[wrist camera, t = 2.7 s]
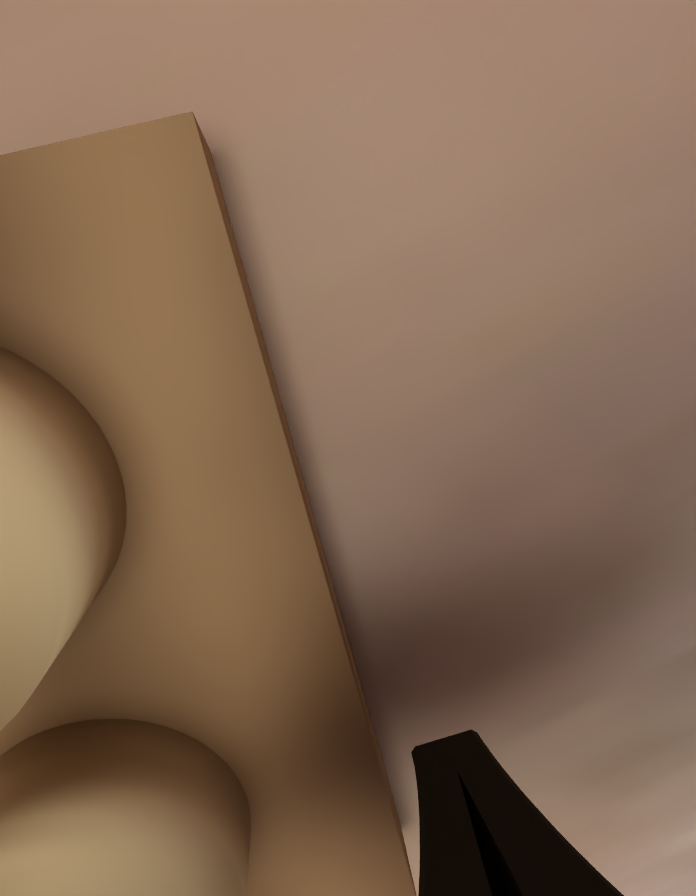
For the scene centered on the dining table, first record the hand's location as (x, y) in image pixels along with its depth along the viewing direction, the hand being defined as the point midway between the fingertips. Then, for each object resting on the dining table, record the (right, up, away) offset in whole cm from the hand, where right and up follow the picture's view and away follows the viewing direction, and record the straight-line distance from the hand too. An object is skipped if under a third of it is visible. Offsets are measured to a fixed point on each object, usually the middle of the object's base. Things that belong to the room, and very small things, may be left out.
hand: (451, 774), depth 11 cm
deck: (-8, +3, +1) cm, 8 cm away
